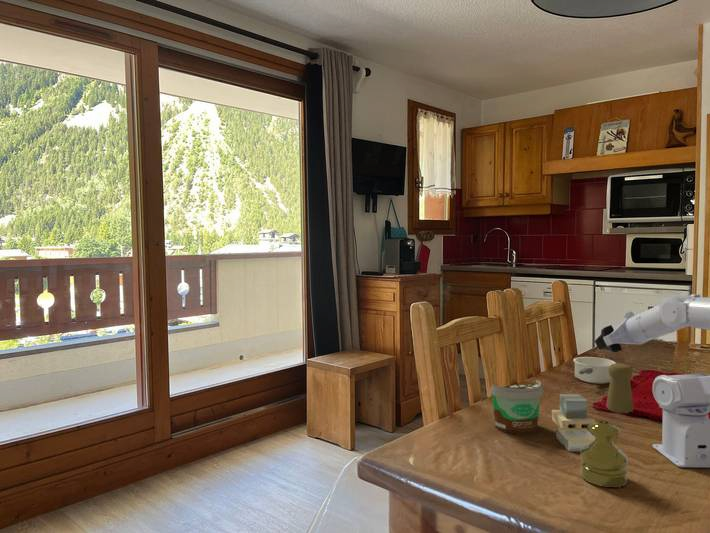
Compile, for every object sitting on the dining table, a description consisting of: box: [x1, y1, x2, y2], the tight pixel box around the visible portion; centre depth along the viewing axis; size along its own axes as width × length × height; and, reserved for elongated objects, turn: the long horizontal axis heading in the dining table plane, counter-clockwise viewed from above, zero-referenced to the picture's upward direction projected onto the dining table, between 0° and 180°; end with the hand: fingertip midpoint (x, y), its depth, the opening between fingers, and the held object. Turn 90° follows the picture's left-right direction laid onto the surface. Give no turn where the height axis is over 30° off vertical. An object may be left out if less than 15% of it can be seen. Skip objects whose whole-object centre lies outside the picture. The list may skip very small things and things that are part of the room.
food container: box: [489, 379, 545, 435], centre depth 111 cm, size 12×6×10 cm, turn 105°
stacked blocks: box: [551, 393, 596, 429], centre depth 114 cm, size 7×7×6 cm
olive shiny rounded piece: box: [579, 420, 629, 488], centre depth 88 cm, size 7×7×10 cm
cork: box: [605, 362, 635, 414], centre depth 124 cm, size 6×6×11 cm
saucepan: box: [572, 356, 617, 385], centre depth 147 cm, size 12×20×6 cm, turn 142°
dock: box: [555, 427, 595, 452], centre depth 104 cm, size 7×6×2 cm
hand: (611, 339), depth 117 cm, fingers open, 7 cm apart
